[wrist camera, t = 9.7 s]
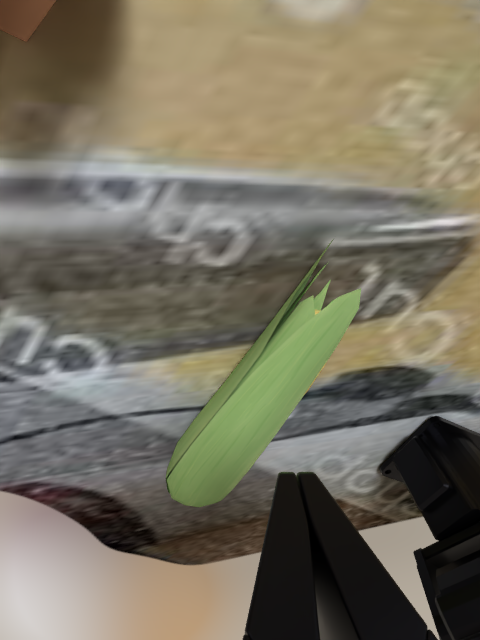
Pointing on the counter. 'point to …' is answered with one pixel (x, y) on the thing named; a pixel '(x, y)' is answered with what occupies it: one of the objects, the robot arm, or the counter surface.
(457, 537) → the robot arm
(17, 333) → the counter surface
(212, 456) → the edible corn
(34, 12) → the marked block
